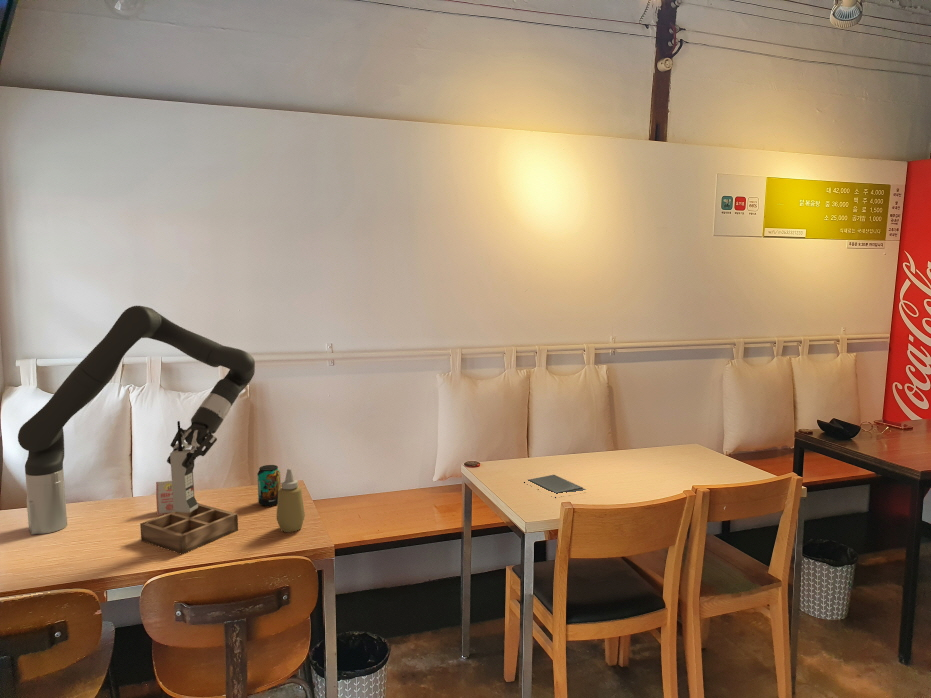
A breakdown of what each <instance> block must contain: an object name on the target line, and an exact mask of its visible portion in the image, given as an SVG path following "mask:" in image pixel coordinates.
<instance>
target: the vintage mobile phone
mask: <svg viewBox="0 0 931 698" xmlns="http://www.w3.org/2000/svg"><path fill="white" fill-rule="evenodd" d="M176 424H177V432H178V441H177V443H178V446H179V449H178V450H176V451H173V450H172V451H173V452H170V453H169V456H170V461H171V465H170V473H171V475H170V476H171V481H172V490H173V505H174V511H175V512H185V513H190V512H192V511H194V510H195V509H197V508H198V503H199V502H197V500H196V497H195V486H194V484H195V483H194V468H195V461H194V462H193V463H192V465H191V466H190V467H189V468H188V469H187V468H184V467H183V466H182V463H183V461H184V460H185V458H186V457H187V455H188V454H189V453H191V452H190V451H191V448H190V449H189V448H186V449H182V447H183V445H182V440H181V432H180V428H181V421H180V420H178V421H177V423H176Z"/></svg>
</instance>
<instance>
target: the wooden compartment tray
mask: <svg viewBox="0 0 931 698" xmlns="http://www.w3.org/2000/svg"><path fill="white" fill-rule="evenodd" d="M197 503H198V508H197V509H195V510H194V511H192V512H190V513H185V512H175V511H174V512H171V513H168V514H164V515H159V516H157V517H154V518H152V519H148V520H146V521H144V522H141V523H139V524H140V525H139V527H140V540H141V541H142V542H144V543H148V544H149V543H150V544H149V545H152V544H153V546H155V545H156V547H158V546H159V547H158V548H161V547H162V549H164V548H165V549H164V550H167V549H169V550H168V551H170V550H171V552H173V551H175V552H174V553H176V552H177V554H179V553H181V554H180V555H182V554H183V555H185V554H187V553H189V552H192V551H194V550H196V549H199V548H201V547H203V546H205V545H208V544H210V543H212V542H215V541H216V540H220V539H221V538H223V537H227V536H228V535H231V534H233V533H235V532H238V531H239V521H238V520H239V518H238V517H239V516H238V513H236V512H232V511H229V510H224V509H221V508H218V507H217V508H216V507H214V506H210V505H206V504H203V503H199V502H197ZM198 547H199V548H198ZM191 550H192V551H191ZM188 551H189V552H188ZM186 552H187V553H186ZM184 553H185V554H184Z"/></svg>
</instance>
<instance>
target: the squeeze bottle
mask: <svg viewBox="0 0 931 698" xmlns="http://www.w3.org/2000/svg"><path fill="white" fill-rule="evenodd" d="M280 483H281V489H280V490H279V491H278V504H277V505H276V506H277V507H276V517H275V518H276V521H277V524H278V526H279V528H280V530H282V531H281V532H283V531H284V533H292V532H291V531H295V532H298V531H300V530H301V529H302V527H303V524H304V521H305V517H306V512H305V505H304V498H303V492H302V491H303V490H302V488H301V487H299V480H298V479H295V478H294V474H293V471H292V468H287V469H286V475H285V479H284V480H282V481H280ZM299 529H300V530H299ZM297 530H298V531H297Z"/></svg>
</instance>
